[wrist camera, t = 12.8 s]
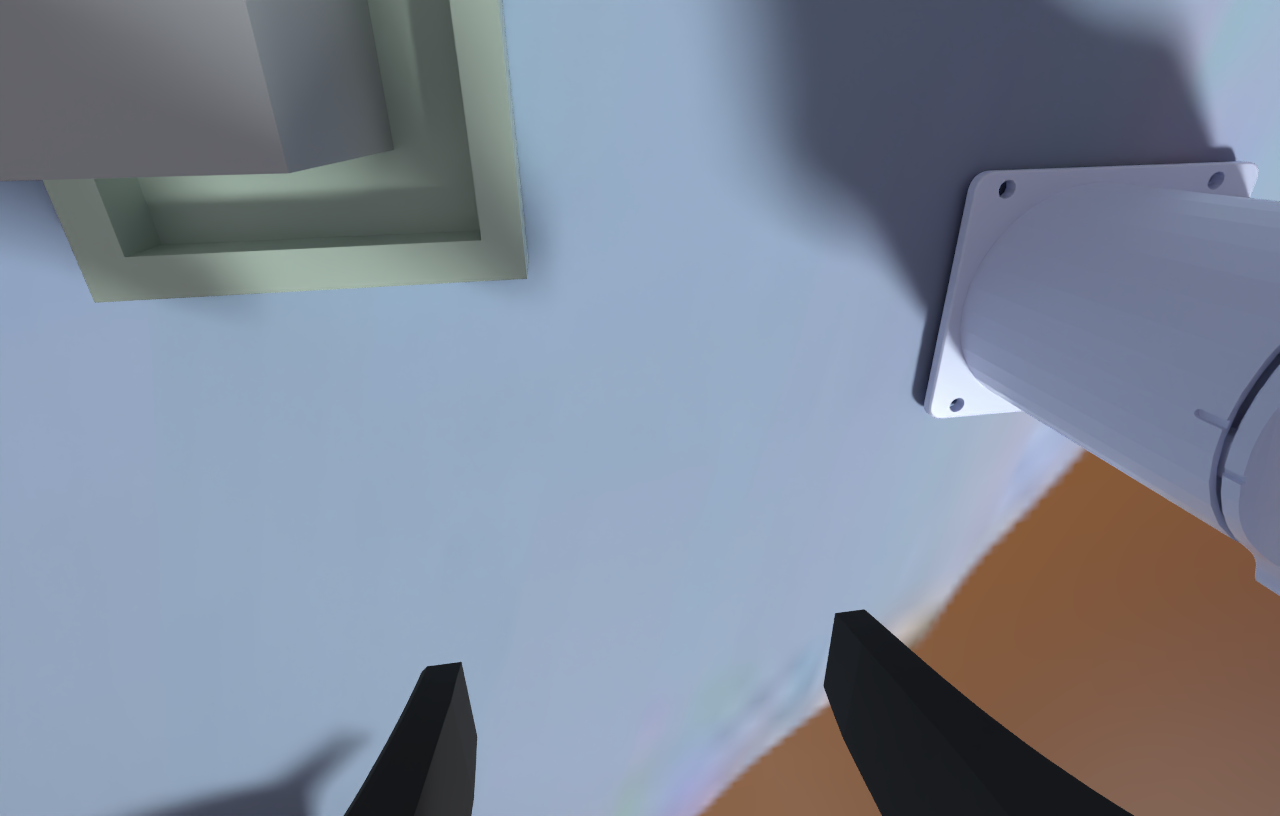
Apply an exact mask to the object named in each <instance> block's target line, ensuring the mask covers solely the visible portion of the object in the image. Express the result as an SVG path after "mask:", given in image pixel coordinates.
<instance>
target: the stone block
mask: <svg viewBox="0 0 1280 816" xmlns="http://www.w3.org/2000/svg"><path fill="white" fill-rule="evenodd" d="M391 150H394V146H393V140H392V135H391V129H390V124H389V118H388V112H387V107H386V101H385V95H384V90H383V84H382V79H381V73H380V67H379V62H378V56H377V50H376V45H375V39H374V34H373V28H372V22H371V17H370V11H369V5H368V0H0V181H22V180H60V179H97V178H135V177H173V176H211V175H249V174H287V173H293V172H297V171H302V170H306V169H311V168H315V167H320V166H324V165H329V164H333V163H338V162H342V161H347V160H351V159H356V158H360V157H365V156H369V155H374V154H378V153H383V152H387V151H391Z"/></svg>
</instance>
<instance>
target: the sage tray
mask: <svg viewBox="0 0 1280 816" xmlns="http://www.w3.org/2000/svg"><path fill="white" fill-rule="evenodd" d="M368 5H369V11H370V17H371V22H372V28H373V34H374V39H375V45H376V50H377V56H378V62H379V67H380V73H381V79H382V84H383V90H384V95H385V101H386V107H387V112H388V118H389V124H390V129H391V135H392V140H393V146H394V150H391V151H387V152H383V153H378V154H374V155H369V156H365V157H360V158H356V159H351V160H347V161H342V162H338V163H333V164H329V165H324V166H320V167H315V168H311V169H306V170H302V171H297V172H293V173H287V174H249V175H211V176H173V177H135V178H97V179H60V180H42V181H43V183H44V185H45V188H46V190H47V192H48V195H49V197H50V199H51V202H52V204H53V206H54V209H55V211H56V213H57V216H58V218H59V220H60V223H61V225H62V227H63V230H64V232H65V234H66V237H67V239H68V241H69V244H70V246H71V248H72V251H73V253H74V255H75V258H76V260H77V262H78V265H79V267H80V269H81V272H82V274H83V276H84V279H85V281H86V283H87V286H88V288H89V290H90V293H91V295H92V297H93V300H94V302H95V303H96V302H114V301H132V300H150V299H168V298H186V297H204V296H222V295H240V294H258V293H276V292H294V291H312V290H330V289H348V288H366V287H384V286H402V285H420V284H439V283H457V282H475V281H493V280H511V279H527V274H528V263H529V261H528V251H527V241H526V231H525V222H524V212H523V202H522V192H521V182H520V172H519V162H518V153H517V143H516V133H515V123H514V113H513V103H512V93H511V83H510V74H509V64H508V54H507V44H506V34H505V24H504V14H503V5H502V0H368Z"/></svg>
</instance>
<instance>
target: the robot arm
mask: <svg viewBox="0 0 1280 816" xmlns="http://www.w3.org/2000/svg"><path fill="white" fill-rule="evenodd" d="M1257 177H1258V167H1257V165H1256V164H1255V163H1252V162H1243V161H1234V162H1207V163H1180V164H1153V165H1126V166H1100V167H1073V168H1046V169H1019V170H992V171H984V172H981V173H980V174H978V175H977V176H975V178H974V179H973V180H972V182H971V183H970V186H969V189H968V193H967V198H966V203H965V207H964V212H963V217H962V222H961V227H960V232H959V236H958V241H957V246H956V251H955V256H954V261H953V266H952V270H951V275H950V280H949V285H948V290H947V295H946V300H945V304H944V309H943V314H942V319H941V324H940V329H939V334H938V338H937V343H936V348H935V353H934V358H933V363H932V368H931V372H930V377H929V382H928V387H927V392H926V397H925V402H924V409H925V411H926V412H927V413H928V414H930V415H931V416H932V417H934V418H939V419H941V418H952V417H963V416H974V415H985V414H996V413H1007V412H1018V411H1024V412H1025V413H1027V414H1029V415H1030V416H1032V417H1034V418H1035V419H1037V420H1039V421H1040V422H1042V423H1043V424H1045V425H1047V426H1048V427H1050V428H1052V429H1053V430H1055V431H1057V432H1058V433H1060V434H1061V435H1063V436H1065V437H1066V438H1068V439H1070V440H1071V441H1073V442H1075V443H1076V444H1078V445H1079V446H1081V447H1083V448H1084V449H1086V450H1088V451H1089V452H1091V453H1093V454H1094V455H1096V456H1098V457H1099V458H1101V459H1102V460H1104V461H1106V462H1107V463H1109V464H1111V465H1112V466H1114V467H1115V468H1117V469H1119V470H1120V471H1122V472H1124V473H1125V474H1127V475H1129V476H1130V477H1132V478H1133V479H1135V480H1137V481H1138V482H1140V483H1142V484H1143V485H1145V486H1147V487H1148V488H1150V489H1151V490H1153V491H1155V492H1156V493H1158V494H1160V495H1162V496H1163V497H1165V498H1166V499H1168V500H1169V501H1171V502H1173V503H1175V504H1176V505H1178V506H1180V507H1181V508H1183V509H1184V510H1186V511H1188V512H1189V513H1191V514H1192V515H1194V516H1196V517H1197V518H1199V519H1201V520H1202V521H1204V522H1205V523H1207V524H1209V525H1210V526H1212V527H1214V528H1215V529H1217V530H1219V531H1220V532H1222V533H1224V534H1225V535H1227V536H1228V537H1230V538H1232V539H1234V540H1235V541H1237V542H1240V543H1241V544H1243V545H1244V546H1245V547H1246V548H1247V549H1248V550H1249V551H1250V552H1251V553H1252V554H1253V555H1254V558H1255V560H1256V572H1255V579H1256V581H1258V582H1259V583H1261V584H1262V585H1264V586H1265V587H1267V588H1269V589H1270V590H1272V591H1273V592H1275V593H1276V594H1278V595H1279V596H1280V201H1272V200H1263V199H1255V198H1250V195H1251V193H1252V190H1253V188H1254V185H1255V183H1256V180H1257ZM1210 178H1211V180H1210V182H1209V183H1208V181H1209V179H1210ZM1003 182H1006V189H1005V192H1004V193H1003V194H1002V195H1001V196H1000V195H999V188H1000V186H1001V184H1002V183H1003ZM954 399H957V401H956V403H955V404H954V405H953V406H950V404H951V402H952V401H953V400H954ZM824 688H825V691H826V694H827V697H828V700H829V702H830V705H831V708H832V710H833V713H834V716H835V719H836V721H837V723H838V726H839V729H840V731H841V734H842V737H843V739H844V741H845V743H846V745H847V747H848V749H849V751H850V753H851V755H852V757H853V759H854V761H855V763H856V765H857V767H858V769H859V771H860V773H861V775H862V777H863V779H864V781H865V783H866V785H867V787H868V789H869V791H870V793H871V795H872V797H873V799H874V801H875V803H876V804H877V807H878V809H879V811H880V812H881V814H882V816H1134V815H1132V814H1131V813H1129V812H1127V811H1125V810H1124V809H1122V808H1121V807H1119V806H1117V805H1116V804H1114V803H1113V802H1111V801H1110V800H1108V799H1106V798H1105V797H1103V796H1102V795H1100V794H1099V793H1097V792H1095V791H1094V790H1092V789H1091V788H1089V787H1088V786H1087V785H1085V784H1084V783H1082V782H1081V781H1079V780H1078V779H1076V778H1075V777H1073V776H1072V775H1070V774H1069V773H1067V772H1066V771H1064V770H1063V769H1062V768H1060V767H1059V766H1057V765H1056V764H1054V763H1052V762H1051V761H1050V760H1048V759H1047V758H1045V757H1044V756H1043V755H1041V754H1040V753H1039V752H1037V751H1036V750H1034V749H1033V748H1031V747H1030V746H1029V745H1027V744H1026V743H1025V742H1023V741H1022V740H1021V739H1019V738H1018V737H1017V736H1015V735H1014V734H1013V733H1011V732H1010V731H1009V730H1008V729H1006V728H1005V727H1004V726H1002V725H1001V724H1000V723H998V722H997V721H996V720H994V719H993V718H992V717H990V716H989V715H988V714H987V713H985V712H984V711H983V710H981V709H980V708H979V707H978V706H976V705H975V704H974V703H973V702H972V701H970V700H969V699H968V698H967V697H965V696H964V695H963V694H962V693H961V692H960V691H958V690H957V689H956V688H955V687H953V686H952V685H951V684H950V683H949V682H947V681H946V680H945V679H944V678H942V677H941V676H940V675H939V674H938V673H937V672H936V671H934V670H933V669H932V668H931V667H930V666H929V665H927V664H926V663H925V662H924V661H923V660H922V659H921V658H919V657H918V656H917V655H916V654H915V653H914V652H912V651H911V650H910V649H909V648H908V647H907V646H906V645H904V644H903V643H902V642H901V641H900V640H899V639H898V638H897V637H895V636H894V635H893V634H892V633H891V632H890V631H889V630H887V629H886V628H885V627H884V626H883V625H882V624H881V623H879V622H878V621H877V620H876V619H875V618H874V617H873V616H871V615H870V614H869V613H868V612H867V611H866V610H857V611H849V612H841V613H835V618H834V624H833V631H832V637H831V643H830V649H829V655H828V662H827V668H826V674H825V680H824ZM476 749H477V733H476V729H475V724H474V719H473V715H472V710H471V705H470V700H469V696H468V691H467V686H466V681H465V677H464V672H463V667H462V662H458V663H450V664H442V665H435V666H427V667H426V668H425V669H424V670H423V671H422V673H421V675H420V677H419V679H418V681H417V684H416V686H415V688H414V690H413V692H412V694H411V696H410V698H409V700H408V702H407V704H406V706H405V708H404V710H403V712H402V714H401V716H400V718H399V720H398V722H397V724H396V726H395V728H394V730H393V731H392V733H391V735H390V737H389V739H388V741H387V743H386V745H385V746H384V748H383V750H382V752H381V753H380V755H379V757H378V759H377V760H376V762H375V764H374V766H373V767H372V769H371V771H370V773H369V775H368V776H367V778H366V780H365V782H364V783H363V785H362V787H361V789H360V790H359V792H358V794H357V795H356V797H355V799H354V800H353V802H352V803H351V805H350V807H349V808H348V810H347V811H346V813H345V815H344V816H471V814H472V807H473V800H474V787H475V770H476Z"/></svg>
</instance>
